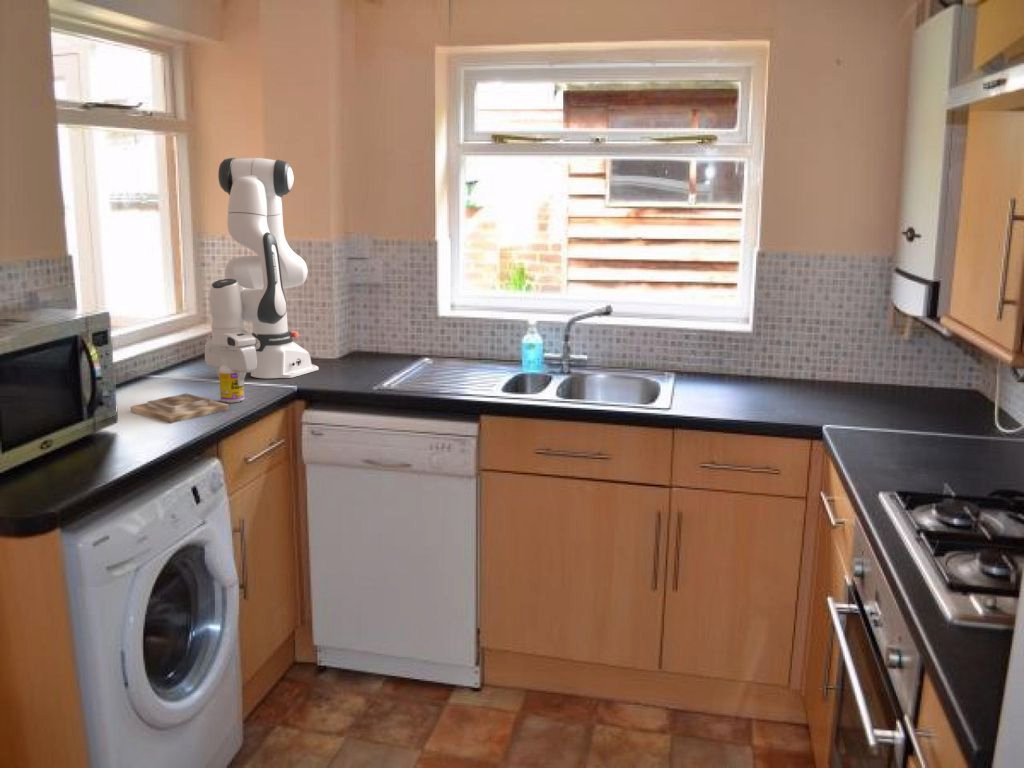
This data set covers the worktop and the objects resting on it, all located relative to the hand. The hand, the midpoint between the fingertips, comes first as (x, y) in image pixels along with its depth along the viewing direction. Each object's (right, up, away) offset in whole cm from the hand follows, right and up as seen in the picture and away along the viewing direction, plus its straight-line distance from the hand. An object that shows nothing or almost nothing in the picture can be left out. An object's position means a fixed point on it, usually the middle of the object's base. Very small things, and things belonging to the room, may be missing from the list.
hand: (231, 383), depth 268 cm
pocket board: (-11, -8, -10) cm, 17 cm away
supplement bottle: (0, -5, +1) cm, 5 cm away
